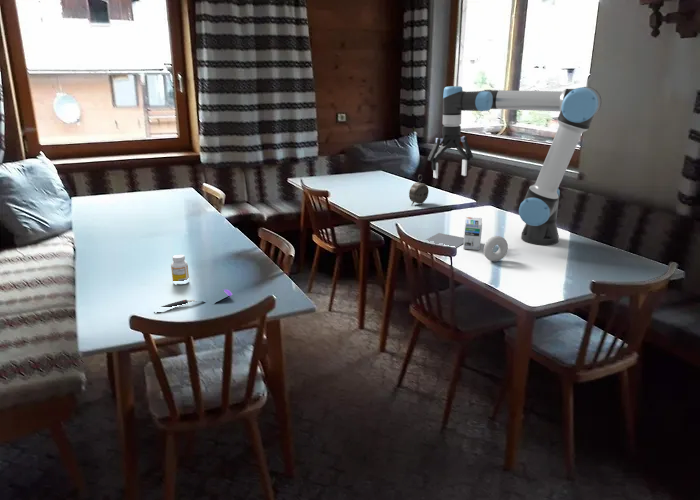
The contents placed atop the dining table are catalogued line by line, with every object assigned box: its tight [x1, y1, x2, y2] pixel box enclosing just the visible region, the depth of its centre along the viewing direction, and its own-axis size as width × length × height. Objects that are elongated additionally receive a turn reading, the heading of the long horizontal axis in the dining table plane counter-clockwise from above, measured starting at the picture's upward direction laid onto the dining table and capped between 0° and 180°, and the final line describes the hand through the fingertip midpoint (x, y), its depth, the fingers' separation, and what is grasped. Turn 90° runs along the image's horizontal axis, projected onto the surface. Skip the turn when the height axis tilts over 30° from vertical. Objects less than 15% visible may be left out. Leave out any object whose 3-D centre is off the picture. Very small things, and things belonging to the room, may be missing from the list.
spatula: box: [161, 289, 233, 307], centre depth 175 cm, size 24×7×2 cm, turn 120°
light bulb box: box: [462, 216, 483, 251], centre depth 228 cm, size 11×7×11 cm, turn 168°
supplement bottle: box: [170, 254, 190, 282], centre depth 190 cm, size 5×5×10 cm
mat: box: [425, 232, 464, 248], centre depth 236 cm, size 15×16×1 cm
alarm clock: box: [408, 174, 429, 206], centre depth 294 cm, size 11×5×16 cm, turn 130°
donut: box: [483, 235, 509, 262], centre depth 211 cm, size 10×4×10 cm, turn 109°
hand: (449, 176), depth 236 cm, fingers open, 13 cm apart
